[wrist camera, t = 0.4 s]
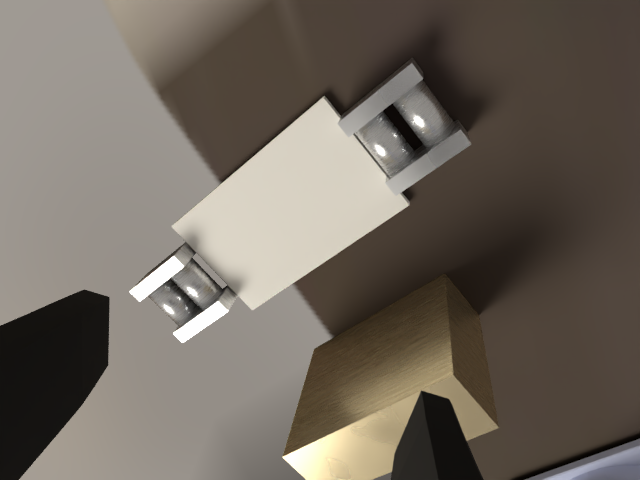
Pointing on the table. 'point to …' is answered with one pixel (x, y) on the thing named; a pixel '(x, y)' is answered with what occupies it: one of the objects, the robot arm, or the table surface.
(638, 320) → the table surface
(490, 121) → the table surface
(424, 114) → the chain ends
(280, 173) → the pad
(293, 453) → the wood grain block
